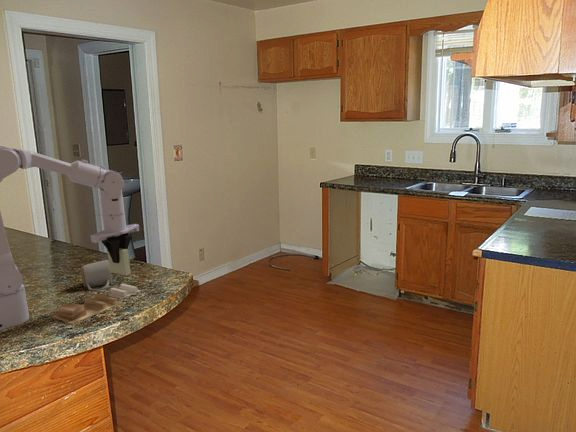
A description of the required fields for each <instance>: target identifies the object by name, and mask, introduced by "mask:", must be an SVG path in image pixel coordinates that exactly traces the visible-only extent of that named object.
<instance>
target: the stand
mask: <svg viewBox="0 0 576 432" xmlns="http://www.w3.org/2000/svg"><path fill="white" fill-rule="evenodd" d="M109 290H110V293H109V294H107V296H109V297H113V298H117V299H120V300H123V299H125V298H127V297H129V296H132V295H134V294H136V293H139V292H142V290H141V289H140V290H139V289H138V286H135V285H130V284H126V283H122V284H120V288H116V287H112V288H109Z"/></svg>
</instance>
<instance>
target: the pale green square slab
mask: <svg viewBox="0 0 576 432" xmlns="http://www.w3.org/2000/svg"><path fill="white" fill-rule="evenodd" d="M106 250H107V249H106ZM106 254H107V260H108V262H109V269H110V272H111V273H114V274H118V275H123V276H128V275H131V274H132V272H131V264H130V263H131V261H130V256H129V249H122V248H119V257H120V261H119V263H113V261H112V259H111V256H110V254H109V252H108V250H107V251H106Z"/></svg>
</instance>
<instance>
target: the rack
mask: <svg viewBox="0 0 576 432" xmlns="http://www.w3.org/2000/svg"><path fill="white" fill-rule="evenodd" d="M94 298H95V299H94ZM94 298H90V297H85V298H83V303H81V304H80V305H84V310H86V314H87V315H85V316H83V317H80V318H78V319H76V320H73V321H71V320H68V319H65V318H62V317H59V316H58V313H56V314H54V315H51V316H50V317H51V318H53V319H56V320H60V321H63V322H65V323H69V324H71V325H73V324H76V323H77V322H80V321H83V320H85V319H88V318H89V317H92V316H94V315H97V314H99V313H101V312H103V311H106V310H108V309H110V308H113V307H116V306H118V305H120V304H122V303H123V302H122V301H118V298H115V297H112V296H108V295H105V294H102V293H96V294H94Z"/></svg>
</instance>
